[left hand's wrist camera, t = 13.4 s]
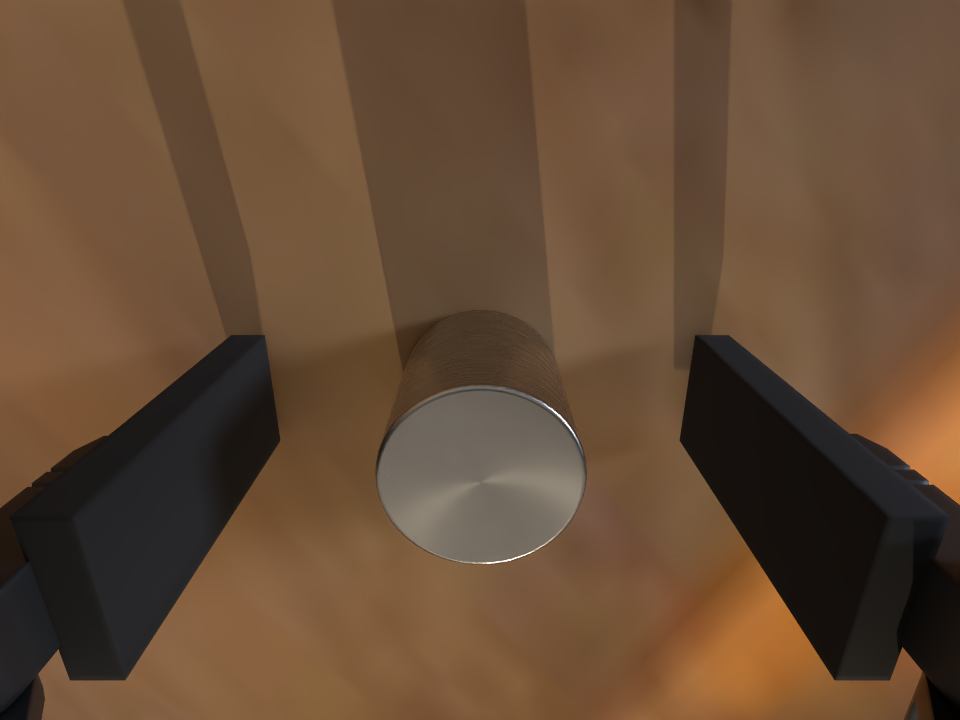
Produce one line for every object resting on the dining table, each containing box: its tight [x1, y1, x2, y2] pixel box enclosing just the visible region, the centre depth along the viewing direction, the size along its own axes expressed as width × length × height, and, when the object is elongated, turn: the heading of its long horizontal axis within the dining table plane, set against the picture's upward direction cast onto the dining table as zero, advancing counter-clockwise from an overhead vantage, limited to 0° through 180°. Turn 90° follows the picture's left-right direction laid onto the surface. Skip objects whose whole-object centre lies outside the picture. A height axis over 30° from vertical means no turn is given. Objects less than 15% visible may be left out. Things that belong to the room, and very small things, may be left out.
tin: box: [376, 311, 587, 564], centre depth 12 cm, size 4×4×4 cm
